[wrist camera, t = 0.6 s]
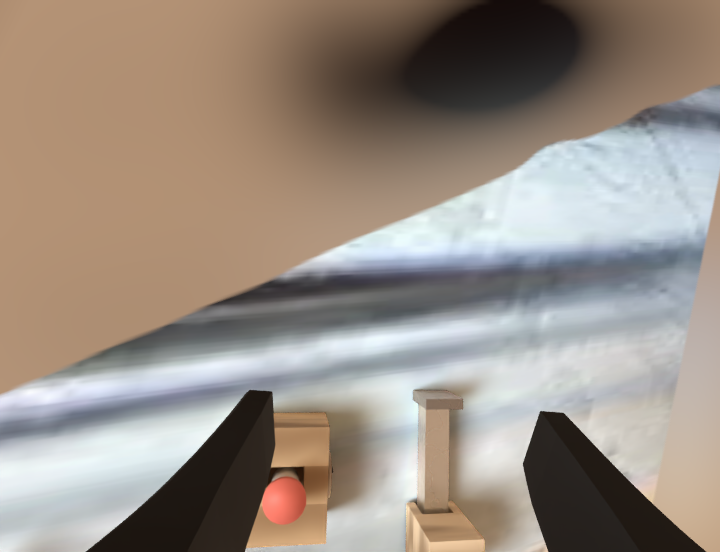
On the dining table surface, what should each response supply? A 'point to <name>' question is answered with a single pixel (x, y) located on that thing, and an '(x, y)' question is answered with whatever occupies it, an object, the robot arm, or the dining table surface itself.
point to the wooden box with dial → (313, 463)
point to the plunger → (284, 497)
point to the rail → (434, 448)
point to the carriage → (441, 531)
